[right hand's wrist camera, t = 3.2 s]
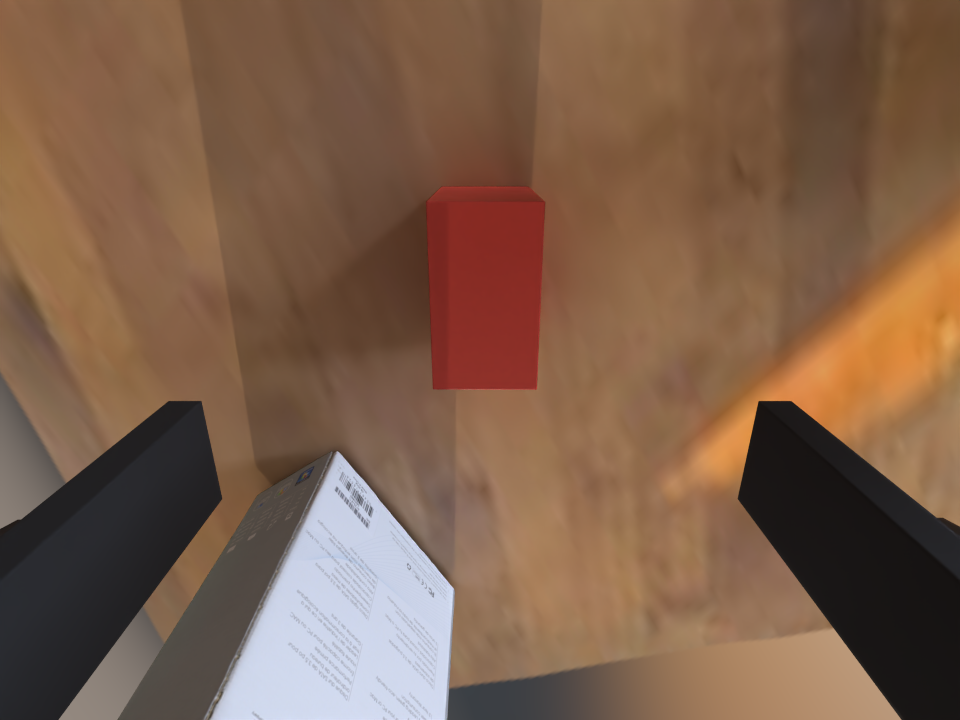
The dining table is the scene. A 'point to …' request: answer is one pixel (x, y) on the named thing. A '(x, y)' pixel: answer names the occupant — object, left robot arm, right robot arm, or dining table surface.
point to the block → (485, 286)
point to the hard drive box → (310, 616)
